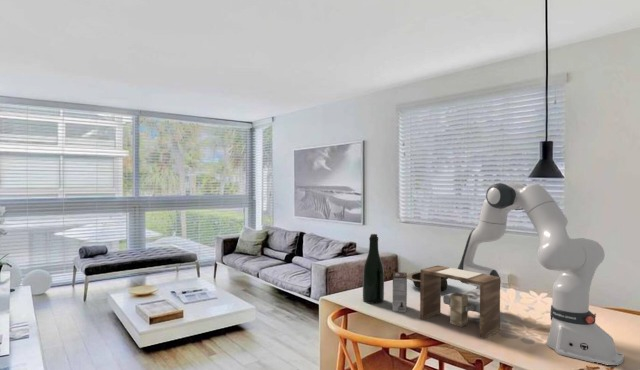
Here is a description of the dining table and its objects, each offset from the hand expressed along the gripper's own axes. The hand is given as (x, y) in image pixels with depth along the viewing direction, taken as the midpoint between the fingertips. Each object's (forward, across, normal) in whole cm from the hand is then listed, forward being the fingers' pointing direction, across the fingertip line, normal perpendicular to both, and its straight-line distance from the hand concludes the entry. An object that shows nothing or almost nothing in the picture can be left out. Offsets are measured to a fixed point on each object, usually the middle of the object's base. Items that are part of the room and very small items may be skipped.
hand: (457, 307), depth 164 cm
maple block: (-1, 0, +7) cm, 7 cm away
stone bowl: (-40, -40, +8) cm, 57 cm away
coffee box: (+2, -28, +7) cm, 29 cm away
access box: (-1, 0, +7) cm, 7 cm away
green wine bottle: (+2, -44, +7) cm, 45 cm away
